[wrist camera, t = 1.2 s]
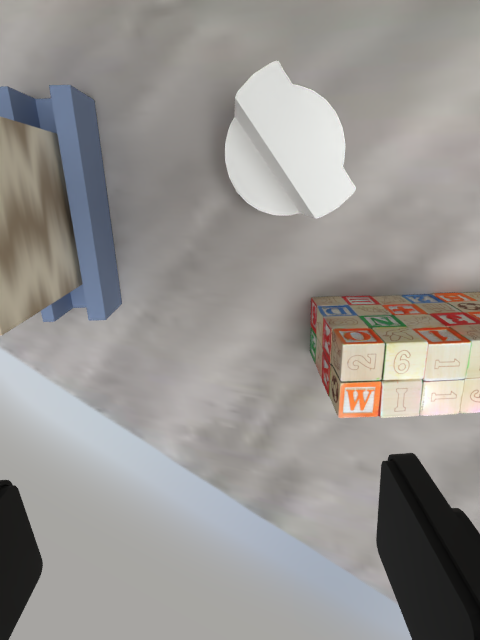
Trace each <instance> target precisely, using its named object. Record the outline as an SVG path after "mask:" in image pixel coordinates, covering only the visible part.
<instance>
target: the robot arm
mask: <svg viewBox="0 0 480 640" xmlns="http://www.w3.org/2000/svg"><path fill="white" fill-rule="evenodd" d="M376 541H377V548H378V552H379V555H380V558H381V561H382V563H383V566H384V568H385V571H386V573H387V576H388V579H389V581H390V584H391V586H392V589H393V591H394V594H395V597H396V599H397V602H398V604H399V607H400V609H401V612H402V614H403V617H404V620H405V622H406V625H407V627H408V630H409V632H410V635H411V637H412V640H480V534H479V532H478V531H477V529H476V528H475V527H474V525H473V524H472V522H471V521H470V519H469V518H468V517H467V516H466V514H465V513H464V512H463V511H462V510H460V509H459V508H451V507H450V505H449V504H448V503H447V501H446V500H445V498H444V497H443V495H442V494H441V492H440V491H439V489H438V488H437V486H436V485H435V483H434V482H433V480H432V479H431V477H430V476H429V474H428V473H427V471H426V470H425V468H424V467H423V465H422V464H421V462H420V461H419V459H418V458H417V457H416V455H415V454H413V453H406V454H391V455H389V457H388V461H383V462H382V465H381V479H380V493H379V508H378V523H377V538H376ZM42 564H43V563H42V558H41V555H40V552H39V549H38V546H37V543H36V540H35V537H34V534H33V532H32V528H31V525H30V522H29V520H28V517H27V514H26V511H25V508H24V505H23V502H22V499H21V496H20V493H19V490H18V488H17V487H16V486H13V485H12V483H11V482H10V481H9V480H0V640H9V637H10V636H11V634H12V632H13V629H14V628H15V626H16V623H17V622H18V620H19V618H20V616H21V614H22V612H23V610H24V608H25V606H26V604H27V602H28V600H29V598H30V596H31V594H32V592H33V590H34V588H35V586H36V584H37V582H38V580H39V578H40V575H41V572H42V566H43V565H42Z"/></svg>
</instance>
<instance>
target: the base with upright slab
mask: <svg viewBox="0 0 480 640" xmlns="http://www.w3.org/2000/svg"><path fill="white" fill-rule="evenodd" d="M345 146H346V145H345V138H344V132H343V127H342V125H341V122H340V120H339V118H338V115H337V113H336V112H335V110H334V109H333V108H332V107H331V105H330V104H329V103H328V101H327V100H326V99H325V98H323V97H322V96H320V95H319V94H318V93H316V92H315V91H313V90H312V89H309V88H306V87H302V86H299V85H295V84H292V83H291V81H290V79H289V78H288V76H287V74H286V73H285V71H284V69H283V68H282V66H281V65H280V63H279V61H278V60H277V61H274V62H271V63H270V64H268V65H266V66H265V67H263V68H262V69H260V70H259V71H257V72H256V73H254V74H253V75H252V76H251V77H250V78H249V79H248V80H247V82H246V83H245V84H244V85H243V86H242V87H241V88H240V89H239V90H238V92H237V94H236V96H235V117H234V119H233V121H232V122H231V124H230V126H229V130H228V134H227V138H226V142H225V163H226V167H227V171H228V175H229V178H230V180H231V182H232V184H233V186H234V188H235V189H236V191H237V193H238V194H239V195H240V196H241V197H242V198H243V199H244V200H245V201H246V202H247V203H248V204H250V205H251V206H253V207H254V208H256V209H258V210H259V211H261V212H265V213H268V214H272V215H284V216H290V215H294V214H297V213H302V214H304V215H307V216H310V217H312V218H315V219H316V218H320V217H323V216H324V215H326V214H328V213H330V212H331V211H333V210H335V209H337V208H338V207H339V206H340V205H341V204H343V203H344V202H345V201H346V200H347V199H348V198H349V197H350V196H351V195H352V194H353V193H354V191H355V190H356V187H355V186H354V184H353V182H352V181H351V179H350V178H349V176H348V174H347V173H346V171H345V169H344V168H343V164H344V157H345Z"/></svg>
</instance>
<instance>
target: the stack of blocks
mask: <svg viewBox="0 0 480 640" xmlns="http://www.w3.org/2000/svg"><path fill="white" fill-rule="evenodd" d="M310 353H311V355H312V358H313V360H314V362H315V364H316V366H317V369H318V371H319V374H320V376H321V378H322V382H323V384H324V386H325V389H326V391H327V394H328V396H329V397H330V399H331V401H332V404H333V406H334V408H335V411H336V413H337V415H338V417H339V418H353V417H377V416H380V417H381V418H392V417H409V416H418V415H421V416H432V415H449V414H457V413H477V412H480V292H469V293H433V294H431V295H430V294H424V295H402V296H343V297H339V296H335V297H312V298H311V340H310Z"/></svg>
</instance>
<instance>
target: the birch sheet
mask: <svg viewBox="0 0 480 640" xmlns="http://www.w3.org/2000/svg"><path fill="white" fill-rule="evenodd" d="M82 284H83V283H82V277H81V271H80V265H79V259H78V254H77V248H76V242H75V236H74V230H73V224H72V218H71V212H70V206H69V200H68V194H67V188H66V182H65V177H64V171H63V165H62V159H61V153H60V147H59V141H58V135H57V134H56V133H53V132H50V131H46V130H43V129H40V128H36V127H33V126H30V125H27V124H23V123H20V122H17V121H13V120H10V119H7V118H4V117H0V335H3V334H5V333H6V332H8V331H10V330H11V329H13V328H14V327H16V326H17V325H19V324H21V323H22V322H24V321H25V320H27V319H29V318H30V317H32V316H33V315H35V314H36V313H38V312H40V311H41V310H43V309H44V308H46V307H47V306H49V305H51V304H52V303H54V302H55V301H57V300H58V299H60V298H62V297H63V296H65V295H66V294H68V293H69V292H71V291H73V290H74V289H76V288H77V287H79V286H81V285H82Z"/></svg>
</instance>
